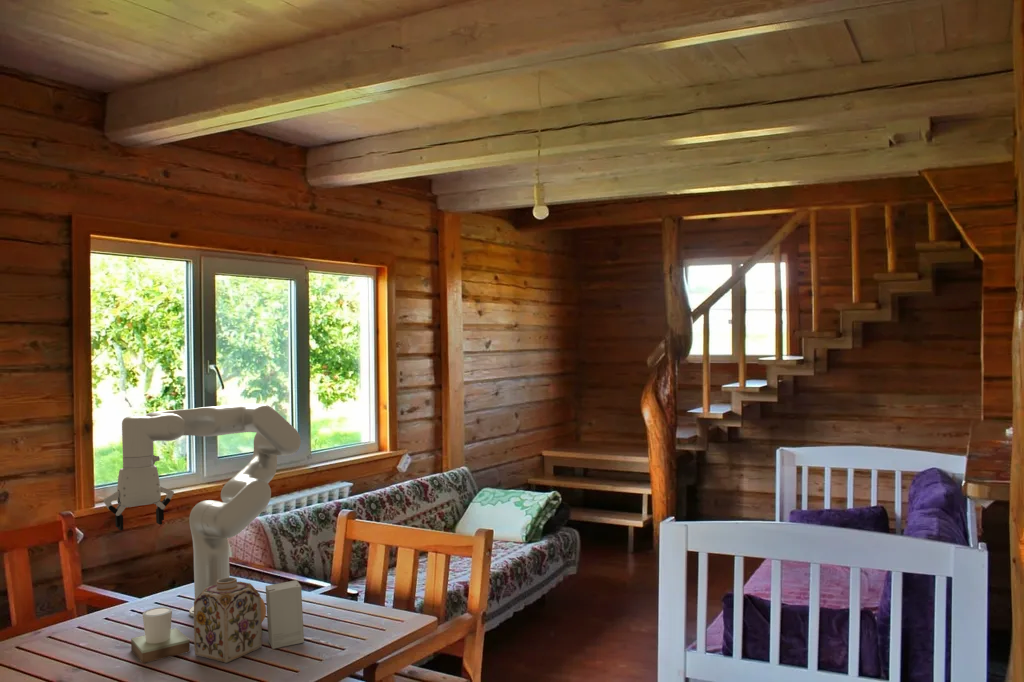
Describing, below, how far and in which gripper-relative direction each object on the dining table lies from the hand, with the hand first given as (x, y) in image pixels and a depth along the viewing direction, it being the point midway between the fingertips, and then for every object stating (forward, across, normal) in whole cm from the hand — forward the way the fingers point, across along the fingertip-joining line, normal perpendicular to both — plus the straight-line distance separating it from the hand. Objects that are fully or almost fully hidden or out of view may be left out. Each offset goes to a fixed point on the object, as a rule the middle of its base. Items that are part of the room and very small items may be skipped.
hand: (140, 526), depth 218 cm
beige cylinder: (+26, 0, +17) cm, 31 cm away
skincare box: (+28, -26, +33) cm, 51 cm away
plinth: (+28, 0, +17) cm, 33 cm away
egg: (+28, -24, +16) cm, 41 cm away
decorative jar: (+29, -13, +29) cm, 43 cm away
